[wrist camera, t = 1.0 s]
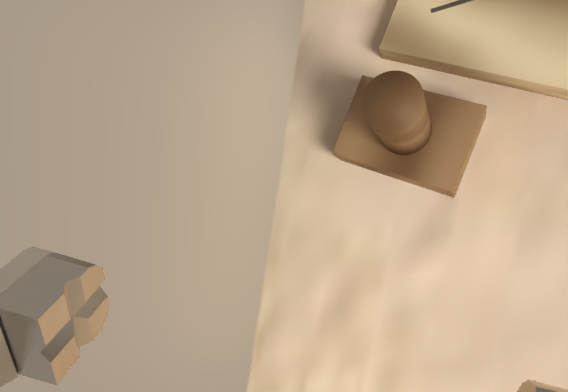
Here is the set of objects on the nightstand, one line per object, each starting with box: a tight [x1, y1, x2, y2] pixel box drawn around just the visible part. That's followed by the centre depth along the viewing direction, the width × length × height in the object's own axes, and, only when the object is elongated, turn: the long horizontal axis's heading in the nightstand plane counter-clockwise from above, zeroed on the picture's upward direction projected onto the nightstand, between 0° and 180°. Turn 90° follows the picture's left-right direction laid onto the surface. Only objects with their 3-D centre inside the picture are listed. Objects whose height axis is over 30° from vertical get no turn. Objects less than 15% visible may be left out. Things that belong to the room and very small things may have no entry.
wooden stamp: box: [332, 71, 487, 198], centre depth 27 cm, size 8×6×8 cm
